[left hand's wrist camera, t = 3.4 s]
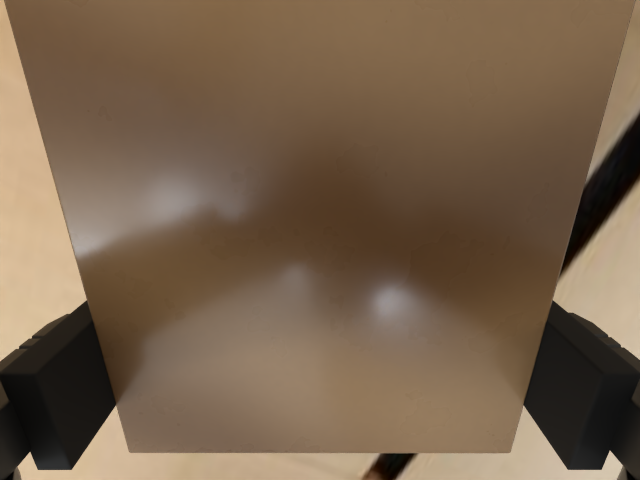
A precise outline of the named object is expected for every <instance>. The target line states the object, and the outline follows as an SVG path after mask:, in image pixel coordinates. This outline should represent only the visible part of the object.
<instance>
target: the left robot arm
mask: <svg viewBox="0 0 640 480" xmlns="http://www.w3.org/2000/svg"><path fill="white" fill-rule="evenodd" d="M115 406H116V402H115V399H114V395H113V392H112V388H111V384H110V381H109V377H108V374H107V370H106V366H105V363H104V359H103V356H102V352H101V348H100V345H99V341H98V337H97V334H96V330H95V327H94V323H93V319H92V316H91V312H90V309H89V305H88V301H85V302H84V303H83V304H82V305H80V306H79V307H78V308H77V309H76V310H74V311H73V312H72V313H71V314H66V315H64V316H62V317H60V318H58V319H56V320H55V321H53V322H51V323H49V324H47V325H46V326H44V327H43V328H42V329H41V330H39V331H38V332H37V333H36V334H34V335H33V336H32V339H28V340H27V341H26V342H24V343H23V344H22V345H21V346H19V349H15V350H14V351H13V352H12V353H10V354H9V355H8V356H7V357H5V358H4V359H3V360H2V361H0V480H21V475H20V472H19V470H18V467H17V466H18V465H19V464H20V463H21V462H22V460H23V459H24V458H25V457H26V456H27V454H28V453H29V452H31V454H32V457H33V459H34V462H35V464H36V466H37V469H38V470H72V468H73V467H74V466H75V464H76V463H77V461H78V460H79V458H80V457H81V455H82V454H83V452H84V451H85V449H86V448H87V447H88V445H89V444H90V442H91V441H92V439H93V438H94V436H95V435H96V433H97V432H98V430H99V429H100V428H101V426H102V425H103V423H104V422H105V420H106V419H107V417H108V416H109V414H110V413H111V412H112V410H113V409H114V407H115ZM524 406H525V408H526V409H527V411H528V412H529V414H530V415H531V416H532V418H533V419H534V421H535V422H536V424H537V425H538V427H539V428H540V430H541V431H542V432H543V434H544V435H545V437H546V438H547V440H548V441H549V443H550V444H551V446H552V447H553V449H554V450H555V451H556V453H557V454H558V456H559V457H560V459H561V460H562V462H563V463H564V465H565V466H566V468H567V469H568V470H602V467H603V465H604V463H605V460H606V458H607V456H608V453H609V451H611V452H612V453H613V454H614V455H615V456H616V458H617V459H618V460H619V461H620V462H621V464H622V465H623V467H622V470H621V472H620V474H619V476H618V478H617V480H640V360H639V359H638V358H636V357H635V356H634V355H633V354H631V353H630V352H629V351H628V350H626V349H625V348H621V345H620V344H619V343H617V342H616V341H615V340H614V339H612V338H611V337H608V335H607V334H606V333H605V332H604V331H602V330H601V329H600V328H598V327H597V326H596V325H595V324H593V323H592V322H590V321H588V320H586V319H584V318H582V317H580V316H578V315H576V314H574V313H568V312H566V311H565V310H564V309H563V308H562V307H560V306H559V305H558V304H557V303H556V302H554V301H553V300H552V304H551V307H550V311H549V315H548V318H547V322H546V325H545V329H544V333H543V336H542V340H541V343H540V347H539V351H538V354H537V358H536V361H535V365H534V369H533V372H532V376H531V380H530V383H529V387H528V390H527V394H526V398H525V401H524Z"/></svg>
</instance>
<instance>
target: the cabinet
mask: <svg viewBox="0 0 640 480" xmlns="http://www.w3.org/2000/svg"><path fill="white" fill-rule="evenodd" d="M4 2H5V5H6V9H7V13H8V16H9V20H10V23H11V27H12V31H13V34H14V38H15V41H16V45H17V49H18V52H19V56H20V60H21V63H22V67H23V70H24V74H25V78H26V81H27V85H28V88H29V92H30V96H31V99H32V103H33V106H34V110H35V114H36V117H37V121H38V125H39V128H40V132H41V135H42V139H43V143H44V146H45V150H46V153H47V157H48V161H49V164H50V168H51V171H52V175H53V179H54V182H55V186H56V189H57V193H58V197H59V200H60V204H61V208H62V211H63V215H64V218H65V222H66V226H67V229H68V233H69V236H70V240H71V244H72V247H73V251H74V254H75V258H76V262H77V265H78V269H79V273H80V276H81V280H82V283H83V287H84V291H85V294H86V298H87V301H88V305H89V309H90V312H91V316H92V319H93V323H94V327H95V330H96V334H97V337H98V341H99V345H100V348H101V352H102V356H103V359H104V363H105V366H106V370H107V374H108V377H109V381H110V384H111V388H112V392H113V395H114V399H115V402H116V406H117V410H118V413H119V417H120V421H121V424H122V428H123V431H124V435H125V439H126V442H127V446H128V449H129V452H130V453H510V452H511V448H512V445H513V441H514V437H515V434H516V430H517V427H518V423H519V419H520V416H521V412H522V408H523V405H524V401H525V398H526V394H527V390H528V387H529V383H530V380H531V376H532V372H533V369H534V365H535V361H536V358H537V354H538V351H539V347H540V343H541V340H542V336H543V333H544V329H545V325H546V322H547V318H548V315H549V311H550V307H551V304H552V300H553V296H554V293H555V289H556V286H557V282H558V278H559V275H560V271H561V268H562V264H563V260H564V257H565V253H566V249H567V246H568V242H569V239H570V235H571V231H572V228H573V224H574V221H575V217H576V213H577V210H578V206H579V203H580V199H581V195H582V192H583V188H584V184H585V181H586V177H587V174H588V170H589V166H590V163H591V159H592V156H593V152H594V148H595V145H596V141H597V137H598V134H599V130H600V127H601V123H602V119H603V116H604V112H605V109H606V105H607V101H608V98H609V94H610V91H611V87H612V83H613V80H614V76H615V72H616V69H617V65H618V62H619V58H620V54H621V51H622V47H623V44H624V40H625V36H626V33H627V29H628V25H629V22H630V18H631V15H632V11H633V7H634V4H635V0H4Z"/></svg>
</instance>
